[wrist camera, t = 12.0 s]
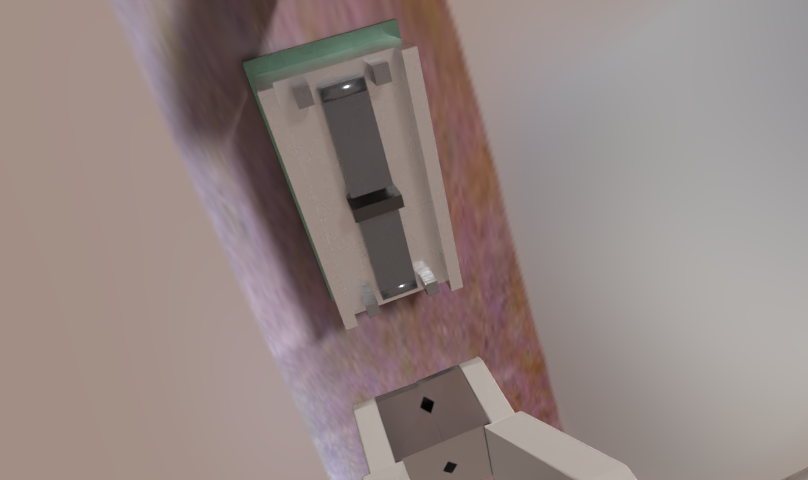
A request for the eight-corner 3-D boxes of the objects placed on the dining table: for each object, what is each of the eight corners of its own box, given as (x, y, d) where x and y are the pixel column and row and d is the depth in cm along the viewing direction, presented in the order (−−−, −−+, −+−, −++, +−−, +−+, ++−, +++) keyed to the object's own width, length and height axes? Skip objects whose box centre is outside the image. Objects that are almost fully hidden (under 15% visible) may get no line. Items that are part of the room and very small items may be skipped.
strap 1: (316, 87, 31) (318, 89, 30) (361, 74, 31) (364, 76, 30) (350, 194, 34) (352, 199, 33) (390, 181, 34) (394, 185, 34)
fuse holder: (242, 61, 33) (242, 79, 27) (394, 18, 34) (424, 27, 29) (331, 298, 44) (344, 345, 38) (444, 258, 45) (472, 297, 40)
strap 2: (415, 282, 40) (418, 289, 39) (380, 294, 40) (383, 302, 39) (395, 204, 36) (399, 210, 35) (356, 217, 35) (359, 223, 35)
